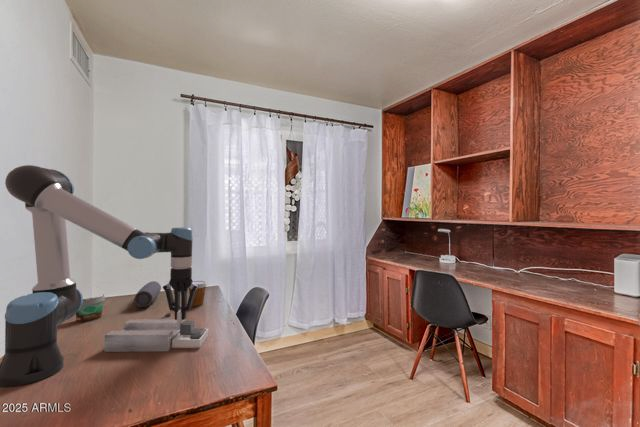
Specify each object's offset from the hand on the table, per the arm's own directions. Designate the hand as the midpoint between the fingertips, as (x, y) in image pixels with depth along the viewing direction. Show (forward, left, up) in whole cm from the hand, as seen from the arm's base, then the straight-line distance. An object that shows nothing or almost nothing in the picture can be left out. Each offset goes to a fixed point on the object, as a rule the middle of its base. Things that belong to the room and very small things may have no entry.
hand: (180, 327), depth 118 cm
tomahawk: (+21, +18, -6) cm, 28 cm away
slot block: (0, +12, -6) cm, 13 cm away
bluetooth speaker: (+51, +36, -6) cm, 63 cm away
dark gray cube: (0, -3, -2) cm, 3 cm away
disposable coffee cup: (+48, +9, -6) cm, 49 cm away
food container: (+25, +49, -6) cm, 55 cm away
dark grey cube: (0, -5, -3) cm, 6 cm away
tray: (0, -4, -6) cm, 7 cm away
